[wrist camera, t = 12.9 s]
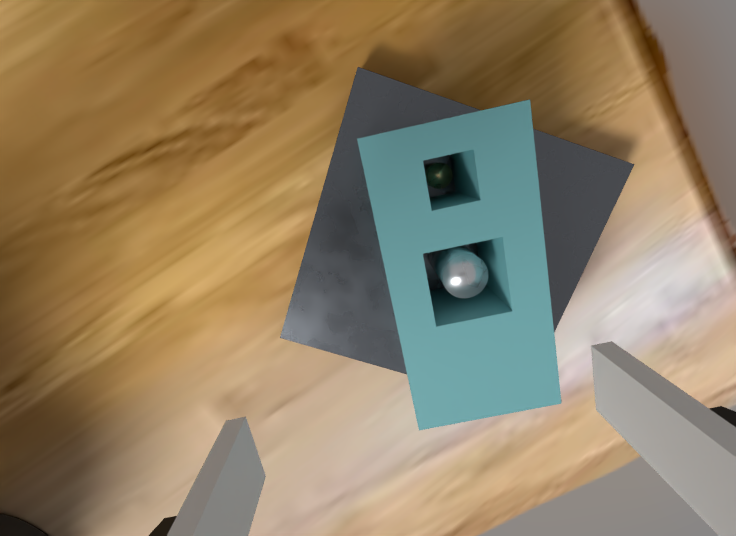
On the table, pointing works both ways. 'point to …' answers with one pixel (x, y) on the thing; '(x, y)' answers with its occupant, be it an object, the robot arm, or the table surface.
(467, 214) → the teal block with holes
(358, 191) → the base
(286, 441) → the table surface
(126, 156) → the table surface
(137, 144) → the table surface
